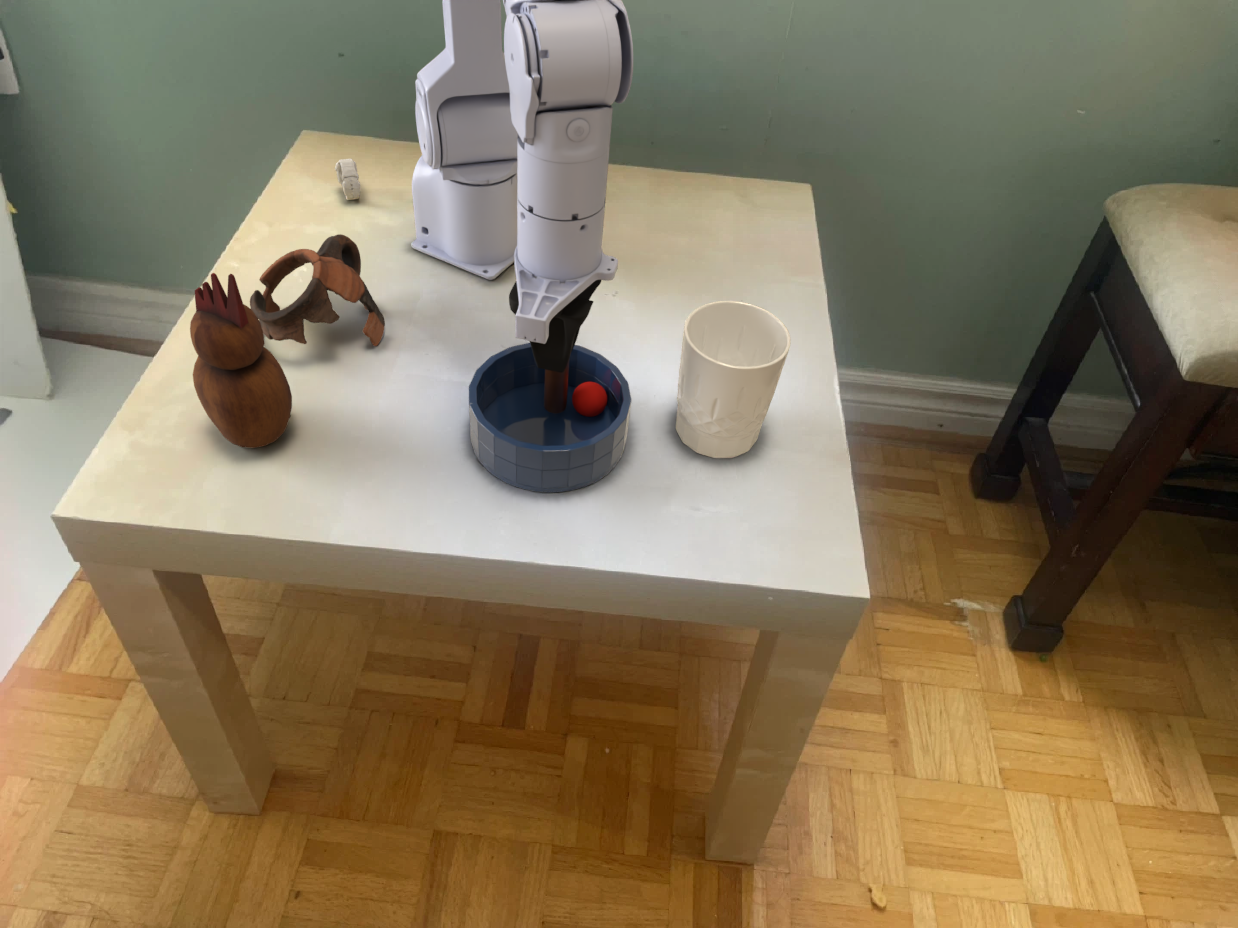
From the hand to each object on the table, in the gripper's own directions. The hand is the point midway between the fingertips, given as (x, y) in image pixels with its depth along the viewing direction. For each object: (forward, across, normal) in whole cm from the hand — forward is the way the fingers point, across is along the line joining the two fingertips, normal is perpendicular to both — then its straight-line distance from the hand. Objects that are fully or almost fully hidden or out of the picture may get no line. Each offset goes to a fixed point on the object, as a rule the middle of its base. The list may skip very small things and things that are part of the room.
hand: (555, 358), depth 69 cm
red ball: (+4, +1, -3) cm, 5 cm away
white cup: (+7, +2, -13) cm, 15 cm away
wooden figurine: (+7, -8, +22) cm, 24 cm away
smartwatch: (+7, +26, +28) cm, 39 cm away
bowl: (+6, -2, 0) cm, 7 cm away
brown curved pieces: (+7, +6, +22) cm, 23 cm away
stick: (+5, 0, 0) cm, 5 cm away
